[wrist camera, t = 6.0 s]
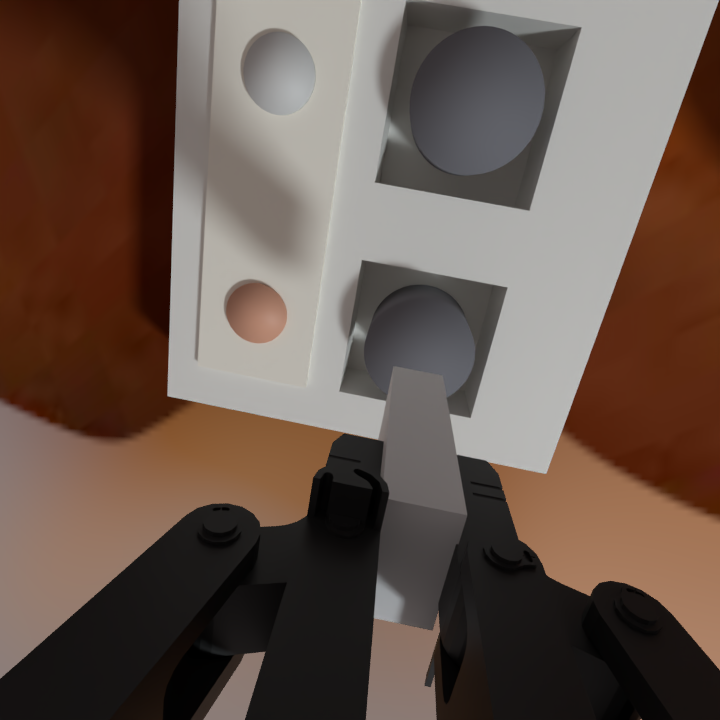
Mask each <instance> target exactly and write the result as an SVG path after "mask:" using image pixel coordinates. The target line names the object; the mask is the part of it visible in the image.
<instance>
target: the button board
mask: <svg viewBox="0 0 720 720" xmlns="http://www.w3.org/2000/svg"><path fill="white" fill-rule="evenodd" d="M718 2H719V0H179V20H178V54H177V89H176V123H175V158H174V192H173V227H172V262H171V296H170V331H169V365H168V396H170V397H175V398H180V399H184V400H189V401H194V402H199V403H204V404H209V405H214V406H218V407H223V408H228V409H233V410H238V411H243V412H248V413H252V414H257V415H262V416H267V417H272V418H277V419H282V420H286V421H291V422H296V423H302V424H307V425H311V426H316V427H321V428H325V429H330V430H335V431H340V432H345V433H350V434H355V435H360V436H364V437H369V438H374V439H378V438H379V433H380V429H381V424H382V419H383V414H384V410H385V405H386V400H387V394H386V393H384V392H383V391H382V390H381V389H380V388H378V387H377V385H376V384H375V383H374V382H373V380H372V379H371V377H370V375H369V373H368V371H367V368H366V365H365V360H364V345H365V340H366V336H367V333H368V330H369V327H370V324H371V321H372V318H373V315H374V313H375V311H376V309H377V307H378V306H379V304H380V303H381V302H382V301H383V300H384V299H385V298H386V297H387V296H388V295H389V294H391V293H392V292H394V291H396V290H398V289H400V288H402V287H406V286H410V285H429V286H433V287H436V288H439V289H441V290H443V291H445V292H447V293H448V294H449V295H451V296H452V297H453V298H454V299H455V300H456V301H457V302H458V304H459V305H460V306H461V308H462V310H463V312H464V314H465V317H466V320H467V322H468V325H469V328H470V331H471V333H472V336H473V339H474V344H475V360H474V365H473V368H472V371H471V373H470V375H469V377H468V378H467V380H466V381H465V383H464V384H463V385H462V386H461V387H460V388H459V389H458V390H457V391H456V392H455V393H453V394H452V395H450V396H449V397H447V402H448V408H449V414H450V419H451V425H452V431H453V436H454V442H455V448H456V453H457V455H461V456H466V457H471V458H476V459H481V460H486V461H487V462H491V463H496V464H500V465H505V466H511V467H515V468H520V469H525V470H530V471H534V472H539V473H544V474H546V473H547V470H548V467H549V465H550V462H551V459H552V456H553V454H554V451H555V448H556V446H557V443H558V440H559V437H560V435H561V432H562V429H563V427H564V424H565V421H566V418H567V416H568V413H569V410H570V407H571V405H572V402H573V399H574V396H575V394H576V391H577V388H578V385H579V383H580V380H581V377H582V374H583V372H584V369H585V366H586V363H587V361H588V358H589V355H590V352H591V350H592V347H593V344H594V342H595V339H596V336H597V333H598V331H599V328H600V325H601V322H602V320H603V317H604V314H605V311H606V309H607V306H608V303H609V300H610V298H611V295H612V292H613V289H614V287H615V284H616V281H617V278H618V276H619V273H620V270H621V267H622V265H623V262H624V259H625V257H626V254H627V251H628V248H629V246H630V243H631V240H632V237H633V235H634V232H635V229H636V226H637V224H638V221H639V218H640V215H641V213H642V210H643V207H644V204H645V202H646V199H647V196H648V193H649V191H650V188H651V185H652V182H653V180H654V177H655V174H656V172H657V169H658V166H659V163H660V161H661V158H662V155H663V152H664V150H665V147H666V144H667V141H668V139H669V136H670V133H671V130H672V128H673V125H674V122H675V119H676V117H677V114H678V111H679V108H680V106H681V103H682V100H683V98H684V95H685V92H686V89H687V87H688V84H689V81H690V78H691V76H692V73H693V70H694V67H695V65H696V62H697V59H698V56H699V54H700V51H701V48H702V45H703V43H704V40H705V37H706V34H707V32H708V29H709V26H710V23H711V21H712V18H713V15H714V13H715V10H716V7H717V4H718ZM475 26H492V27H497V28H501V29H504V30H506V31H509V32H511V33H513V34H514V35H516V36H517V37H519V38H520V39H521V40H522V41H524V42H525V43H526V44H527V45H528V47H529V48H530V49H531V50H532V52H533V53H534V55H535V57H536V58H537V60H538V63H539V65H540V67H541V71H542V74H543V78H544V85H545V101H544V108H543V113H542V117H541V120H540V123H539V125H538V127H537V130H536V132H535V134H534V135H533V137H532V139H531V140H530V142H529V143H528V144H527V146H526V147H525V148H524V150H523V151H522V152H521V153H520V154H519V155H518V156H517V157H515V158H514V159H513V160H511V161H510V162H509V163H507V164H505V165H504V166H502V167H500V168H498V169H496V170H494V171H490V172H487V173H483V174H477V175H469V176H458V175H451V174H448V173H445V172H442V171H440V170H438V169H437V168H435V167H434V166H432V165H431V164H430V163H429V162H428V161H427V160H426V159H425V158H424V157H423V156H422V154H421V153H420V151H419V150H418V148H417V146H416V144H415V141H414V138H413V135H412V131H411V122H410V112H409V108H410V94H411V89H412V85H413V82H414V79H415V76H416V74H417V72H418V70H419V68H420V66H421V64H422V62H423V61H424V59H425V58H426V56H427V55H428V54H429V53H430V52H431V50H432V49H433V48H434V47H435V46H436V45H438V44H439V43H440V42H441V41H442V40H444V39H445V38H447V37H448V36H450V35H452V34H453V33H455V32H457V31H460V30H463V29H466V28H470V27H475Z"/></svg>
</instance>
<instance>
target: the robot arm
mask: <svg viewBox="0 0 720 720" xmlns="http://www.w3.org/2000/svg"><path fill="white" fill-rule="evenodd" d="M438 610H439V624H440V633H439V636H438V639H437V642H436V646H435V650H434V652H433V655H432V659H431V662H430V665H429V668H428V672H427V675H426V680H425V686H428V687H431V684H432V680H433V678H434V675H435V692H436V693H435V694H436V715H437V720H640V719H642V720H720V670H719V669H718V668H717V666H716V665H715V664H714V663H713V662H712V661H711V659H710V658H709V657H708V656H707V655H706V654H705V652H704V651H703V650H702V649H701V648H700V647H699V646H698V644H697V643H696V642H695V641H694V640H693V638H692V637H691V636H690V635H689V634H688V633H687V631H686V630H685V629H684V628H683V627H682V625H681V624H680V623H679V622H678V621H677V620H676V618H675V617H674V616H673V615H672V614H671V613H670V612H669V611H668V610H667V609H666V608H665V607H664V606H663V605H661V603H660V602H658V601H657V600H656V599H654V598H653V597H651V596H649V595H648V594H646V593H645V592H643V591H642V590H640V589H637V588H635V587H632V586H630V585H628V584H625V583H619V582H614V581H608V582H602V583H599V584H598V585H597V586H596V587H595V588H594V589H593V591H592V594H591V596H588V595H586V594H584V593H581V592H579V591H577V590H575V589H572V588H570V587H568V586H565V585H563V584H561V583H559V582H557V581H555V580H553V579H552V578H550V577H548V576H547V575H546V574H545V571H544V568H543V565H542V563H541V562H540V560H539V558H538V556H537V555H536V553H535V552H534V551H533V550H531V549H530V548H529V547H528V546H527V545H526V544H525V543H523V542H521V541H520V540H518V537H517V533H516V530H515V527H514V524H513V521H512V517H511V514H510V511H509V508H508V504H507V502H506V498H505V495H504V491H503V490H502V485H501V482H500V478H499V475H498V473H497V472H496V471H495V470H494V469H493V468H492V467H491V465H490V464H489V463H488V462H487V461H486V460H481V459H476V458H471V457H466V456H461V455H457V453H456V448H455V442H454V436H453V431H452V425H451V419H450V414H449V408H448V402H447V397H446V391H445V385H444V380H443V376H442V375H437V374H432V373H427V372H422V371H416V370H411V369H406V368H401V367H396V366H394V367H393V371H392V376H391V381H390V386H389V390H388V395H387V400H386V405H385V410H384V414H383V419H382V424H381V429H380V433H379V438H378V440H373V439H369V438H364V437H359V436H354V435H349V434H343V435H342V436H340V437H339V438H338V439H337V440H335V441H334V442H333V444H332V447H331V450H330V453H329V457H328V460H327V464H326V467H324V468H322V469H320V470H318V472H317V473H316V475H315V476H314V477H313V483H312V489H311V495H310V502H309V508H308V514H307V516H306V517H304V518H303V519H301V520H299V521H297V522H295V523H292V524H288V525H282V526H271V527H260V523H259V521H258V520H257V518H256V517H255V516H254V514H253V513H251V512H250V511H248V510H246V509H245V508H243V507H240V506H236V505H232V504H211V505H207V506H203V507H200V508H197V509H195V510H194V511H192V512H191V513H189V514H187V515H186V516H185V517H183V518H182V519H181V520H180V521H179V522H178V523H177V524H176V525H174V526H173V527H172V528H171V529H170V530H169V531H168V532H166V533H165V534H164V535H163V536H162V537H161V538H160V539H159V540H157V541H156V542H155V543H154V544H153V545H152V546H151V547H149V548H148V549H147V550H146V551H145V552H144V553H143V554H142V555H140V556H139V557H138V558H137V559H136V560H135V561H134V562H133V563H131V564H130V565H129V566H128V567H127V568H126V569H125V570H124V571H122V572H121V573H120V574H119V575H118V576H117V577H115V578H114V579H113V580H112V581H111V582H110V583H109V584H107V585H106V586H105V587H104V588H103V589H102V590H101V591H100V592H98V593H97V594H96V595H95V596H94V597H93V598H92V599H90V600H89V601H88V602H87V603H86V604H85V605H84V606H82V607H81V608H80V609H79V610H78V611H77V612H76V613H75V614H73V616H71V617H70V618H69V619H68V620H67V621H65V622H64V623H63V624H62V625H61V626H60V627H59V628H58V629H56V630H55V631H54V632H53V633H52V634H51V635H50V636H48V637H47V638H46V639H45V640H44V641H43V642H42V643H41V644H40V645H38V646H37V647H36V648H35V649H34V650H33V651H31V652H30V653H29V654H28V655H27V656H26V657H25V658H24V659H22V660H21V661H20V662H19V663H18V664H17V665H16V666H14V667H13V668H12V669H11V670H10V671H9V672H8V673H6V674H5V675H4V676H3V677H2V678H1V679H0V720H203V719H204V718H205V716H206V714H207V713H208V711H209V710H210V708H211V706H212V705H213V704H214V702H215V701H216V699H217V697H218V696H219V694H220V693H221V691H222V690H223V688H224V687H225V685H226V683H227V682H228V681H229V679H230V677H231V676H232V674H233V673H234V671H235V670H236V668H237V667H238V665H239V664H240V662H241V660H242V658H243V655H244V654H247V653H256V652H265V651H266V652H265V656H264V659H263V662H262V666H261V669H260V672H259V675H258V679H257V682H256V685H255V688H254V692H253V695H252V698H251V701H250V705H249V708H248V712H247V715H246V718H245V720H366V709H367V695H368V684H369V670H370V659H371V646H372V634H373V621H374V618H376V619H381V620H385V621H390V622H395V623H400V624H405V625H409V626H414V627H419V628H423V629H428V630H433V627H434V624H435V620H436V617H437V614H438Z"/></svg>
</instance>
